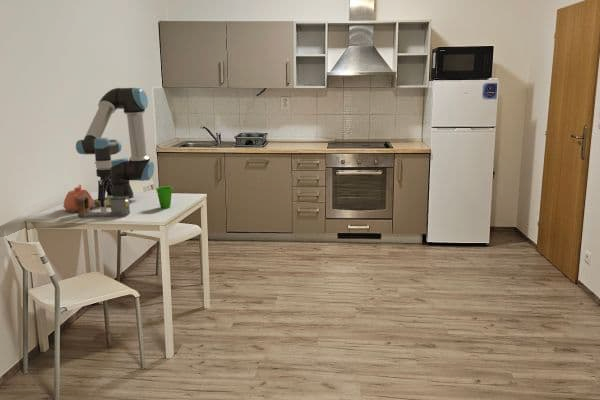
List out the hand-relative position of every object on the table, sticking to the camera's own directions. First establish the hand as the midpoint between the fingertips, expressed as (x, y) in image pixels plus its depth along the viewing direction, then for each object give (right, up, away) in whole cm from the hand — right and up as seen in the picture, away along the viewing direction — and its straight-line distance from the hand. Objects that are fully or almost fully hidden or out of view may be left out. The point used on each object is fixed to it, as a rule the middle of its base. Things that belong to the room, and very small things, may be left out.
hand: (107, 210), depth 284 cm
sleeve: (+7, -2, +1) cm, 7 cm away
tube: (+3, +1, 0) cm, 3 cm away
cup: (+26, +1, +17) cm, 31 cm away
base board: (-2, -3, 0) cm, 3 cm away
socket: (-12, -3, 0) cm, 12 cm away
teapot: (-20, 0, +14) cm, 24 cm away
